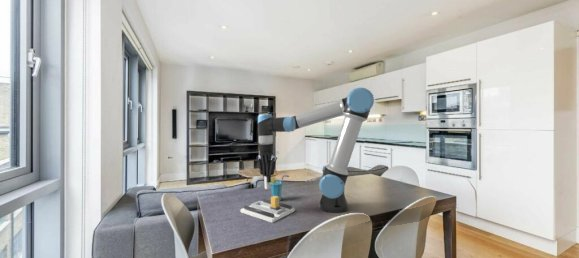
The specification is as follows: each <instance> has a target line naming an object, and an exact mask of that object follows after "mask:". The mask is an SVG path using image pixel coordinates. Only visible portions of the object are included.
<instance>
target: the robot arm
mask: <svg viewBox="0 0 579 258" xmlns="http://www.w3.org/2000/svg"><path fill="white" fill-rule="evenodd" d="M374 103H375V97H374V94H373V92H371V90H369V89H367V88H365V87H356V88H354V89H352V90H351V91H350V92H349V94H348V95H347V96H346V97H344V98H341V99H340V100H339V101H338V102H334V103H331V104H328V105H325V106H322V107H319V108H315V109H312V110H309V111H307V112H303V113H302V112H301V113H300V114H297V115H293V116H281V117H273V114H272V113H262V114H261V113H260V114H259V115H258V116H257V133H258V135H257V136H258V151H259V155H257V156H256V160H257V163H258V167H259V168H258V170H259V173H260V175H262V177H263V183H264V189H265V190H269V189H271V186H270V182H271V177H272V176H274V173H275V167H276V164H277V163H276V162H277V159H278V157H277V156H274V144H273V142H274V135H273V134H274V133H283V132H285V133H286V132H287V133H290V132H294V131H295V130H298V129H301V128H304V127H308V126H311V125H314V124H318V123H321V122H325V121H328V120H331V119H335V118H338V117H342V116H344V119H343V121H342V125H341V128H340V130H339V134H338V137H337V140H336V143H335V146H334V150H333V151H332V155H331V158H330V160H329V163H328V164H325V165H323V167H322V175H321V178H320V180H319V182H318V184H319V185H318V188H319V191H320V192H321V194H322V195H321V197H320V201H319V209H321V210H323V211H324V212H329V213H343V212H346V211H347V210H348V207H349V206H348V201H347V198H346V196H345V186H346V182H347V180H348V177H349V172H348V167H349V163H350V161H351V158H352V155H353V152H354V149H355V146H356V142H357V140H358V136H359V135H360V131H361V128H362V125H363V123H364V122H366V121H367V120H368V117H369V115H370V112H371V109H372V108H373V106H374Z"/></svg>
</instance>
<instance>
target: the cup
mask: <svg viewBox="0 0 579 258" xmlns="http://www.w3.org/2000/svg"><path fill="white" fill-rule="evenodd" d="M284 177H285V178H286V177H287V178H289V177H290V175H287V174H283V175H282V177H281V180H280V181H279V180H275V178H274V177H272V176H271V182H270V191H271V197H273V196H278V197H279V202H281V200H282V190H283V183H284V182H283V180H284Z"/></svg>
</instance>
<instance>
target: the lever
mask: <svg viewBox="0 0 579 258" xmlns="http://www.w3.org/2000/svg"><path fill="white" fill-rule="evenodd" d="M270 200H271V207H270V209H273V210H279V209H280V207H279V203H280V201H279V197H278V196H273V197H272V196H270Z"/></svg>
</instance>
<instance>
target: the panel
mask: <svg viewBox="0 0 579 258" xmlns="http://www.w3.org/2000/svg"><path fill="white" fill-rule="evenodd" d="M270 207H271V199H266V198H262V200H258V201H256V202H253V203H251V204H250V205H243V208H240V213H242V214H245V215H247V216H251V217H254V218H256V219H260V220H264V221H265V222H268V223H275V222H277V221H279V220H280V219H282V218H285V217H286V216H289V215H290V214H292V213H294V212H296V211H295V210H296V208H295V207H293V206H292V204H291V205H290V204H286V203H283V202H279V207H280V209H279V210H273V209H270Z"/></svg>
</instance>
